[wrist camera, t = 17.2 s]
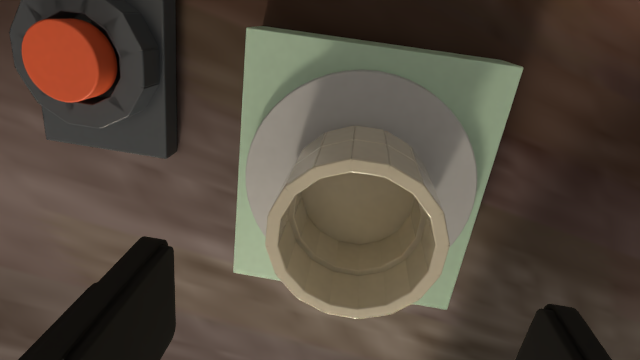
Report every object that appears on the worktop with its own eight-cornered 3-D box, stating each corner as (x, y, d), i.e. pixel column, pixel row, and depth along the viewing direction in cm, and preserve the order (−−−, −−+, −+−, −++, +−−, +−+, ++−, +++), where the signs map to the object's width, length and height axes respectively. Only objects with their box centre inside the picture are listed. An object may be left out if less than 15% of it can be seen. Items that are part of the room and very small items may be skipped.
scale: (262, 25, 20) (242, 27, 17) (502, 59, 20) (529, 68, 16) (247, 244, 25) (229, 279, 22) (438, 277, 25) (449, 317, 21)
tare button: (41, 13, 19) (14, 13, 17) (115, 24, 18) (94, 25, 17) (51, 91, 20) (27, 96, 19) (120, 101, 20) (101, 108, 18)
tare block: (38, -61, 20) (-15, -73, 17) (175, -42, 20) (144, -52, 17) (63, 133, 24) (23, 148, 21) (177, 151, 23) (152, 169, 21)
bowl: (297, 113, 18) (273, 146, 13) (443, 135, 18) (470, 177, 13) (283, 238, 21) (259, 302, 16) (411, 260, 20) (424, 331, 16)
